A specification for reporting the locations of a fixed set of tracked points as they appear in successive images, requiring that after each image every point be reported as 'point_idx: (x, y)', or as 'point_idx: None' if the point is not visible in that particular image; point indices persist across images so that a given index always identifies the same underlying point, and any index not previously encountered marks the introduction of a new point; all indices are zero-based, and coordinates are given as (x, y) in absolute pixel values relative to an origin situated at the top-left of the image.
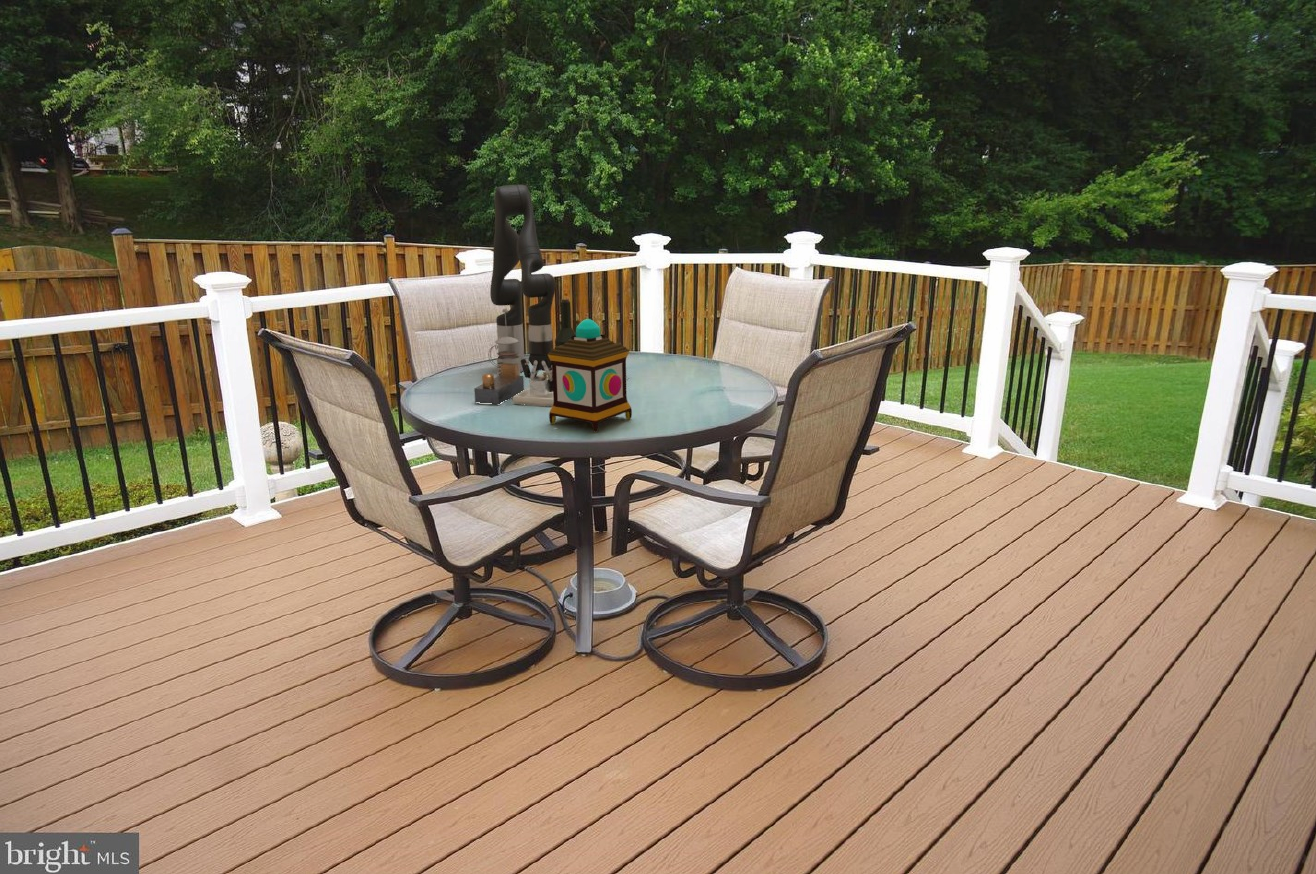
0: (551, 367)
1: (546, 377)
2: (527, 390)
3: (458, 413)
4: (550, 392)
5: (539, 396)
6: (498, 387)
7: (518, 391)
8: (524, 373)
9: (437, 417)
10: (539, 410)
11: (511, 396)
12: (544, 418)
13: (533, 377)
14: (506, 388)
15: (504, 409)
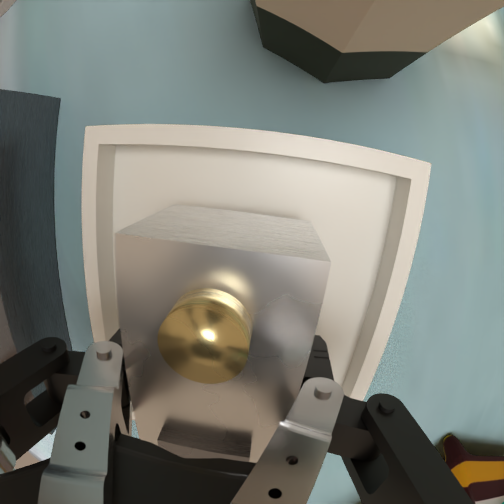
0: (308, 485)
1: (247, 409)
2: (101, 267)
3: (49, 438)
4: (252, 194)
5: None
6: (25, 399)
7: (45, 178)
8: (43, 407)
9: (40, 450)
10: None
11: (53, 275)
12: (308, 500)
13: (128, 414)
14: None
15: (132, 436)
